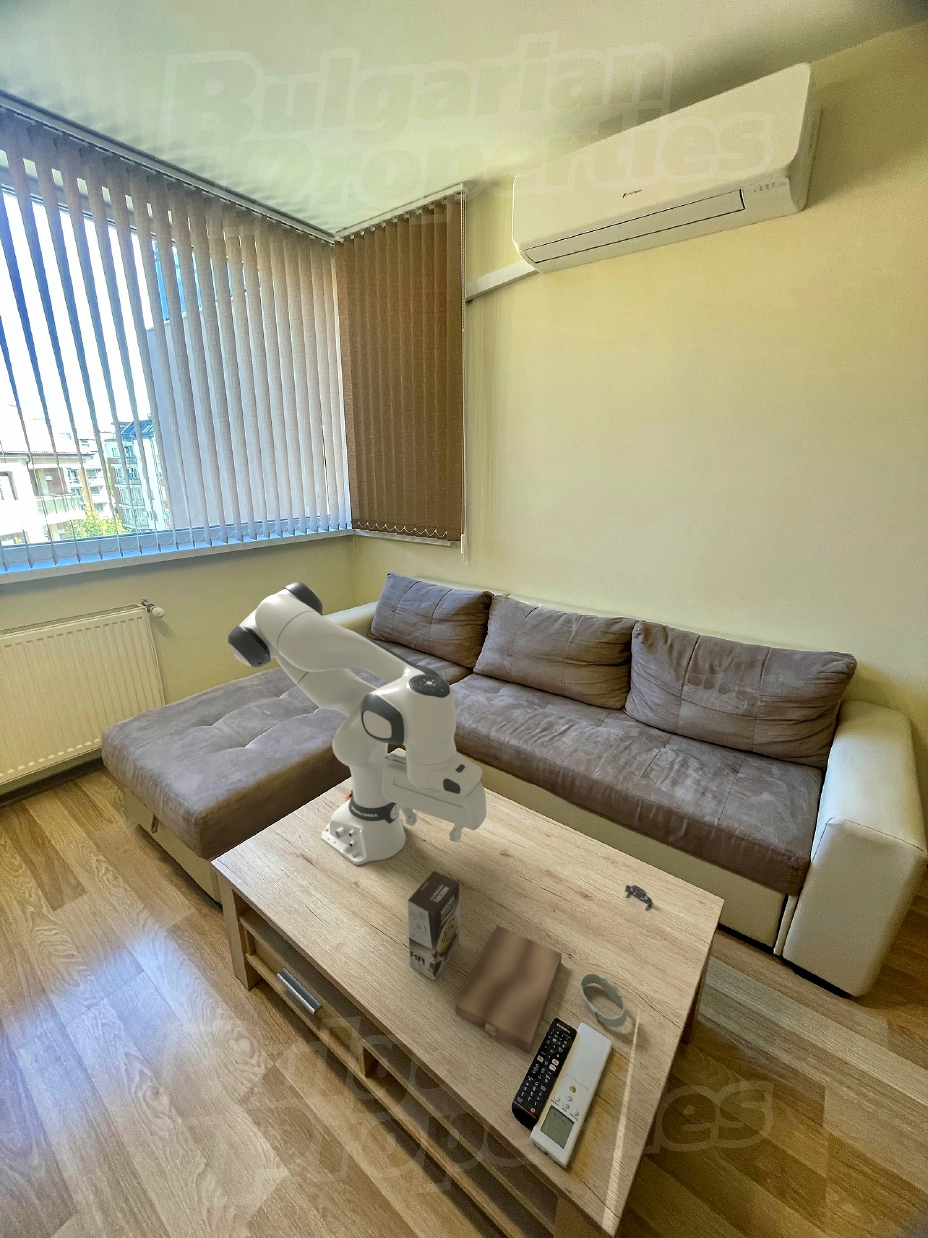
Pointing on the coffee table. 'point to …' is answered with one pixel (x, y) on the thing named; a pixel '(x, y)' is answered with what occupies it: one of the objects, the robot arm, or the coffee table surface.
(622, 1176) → the coffee table surface
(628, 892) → the dark grey irregular piece
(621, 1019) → the grey oval ring piece
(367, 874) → the coffee table surface
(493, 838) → the coffee table surface
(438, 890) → the coffee box
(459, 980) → the coffee table surface
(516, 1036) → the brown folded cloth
